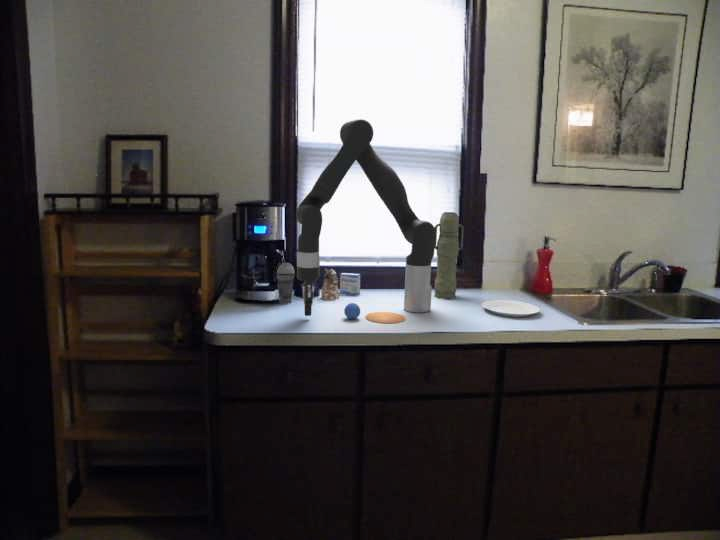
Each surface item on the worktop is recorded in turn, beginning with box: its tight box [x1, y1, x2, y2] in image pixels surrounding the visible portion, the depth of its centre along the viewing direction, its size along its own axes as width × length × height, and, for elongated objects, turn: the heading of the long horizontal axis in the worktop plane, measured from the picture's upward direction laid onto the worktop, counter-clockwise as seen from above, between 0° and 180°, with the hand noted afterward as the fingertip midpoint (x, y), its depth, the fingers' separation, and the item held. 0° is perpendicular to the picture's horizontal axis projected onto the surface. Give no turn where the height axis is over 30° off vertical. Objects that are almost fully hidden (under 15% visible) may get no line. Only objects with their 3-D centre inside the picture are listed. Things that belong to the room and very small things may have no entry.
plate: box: [481, 299, 541, 318], centre depth 189 cm, size 21×21×2 cm
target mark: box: [365, 311, 407, 325], centre depth 176 cm, size 14×14×1 cm
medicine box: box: [339, 272, 361, 296], centre depth 210 cm, size 8×4×9 cm, turn 80°
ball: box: [343, 302, 361, 320], centre depth 174 cm, size 6×6×6 cm
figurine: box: [320, 268, 340, 301], centre depth 202 cm, size 7×7×12 cm
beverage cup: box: [275, 250, 296, 305], centre depth 192 cm, size 7×7×20 cm
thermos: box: [434, 211, 465, 300], centre depth 208 cm, size 9×12×35 cm
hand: (307, 315), depth 171 cm, fingers closed
